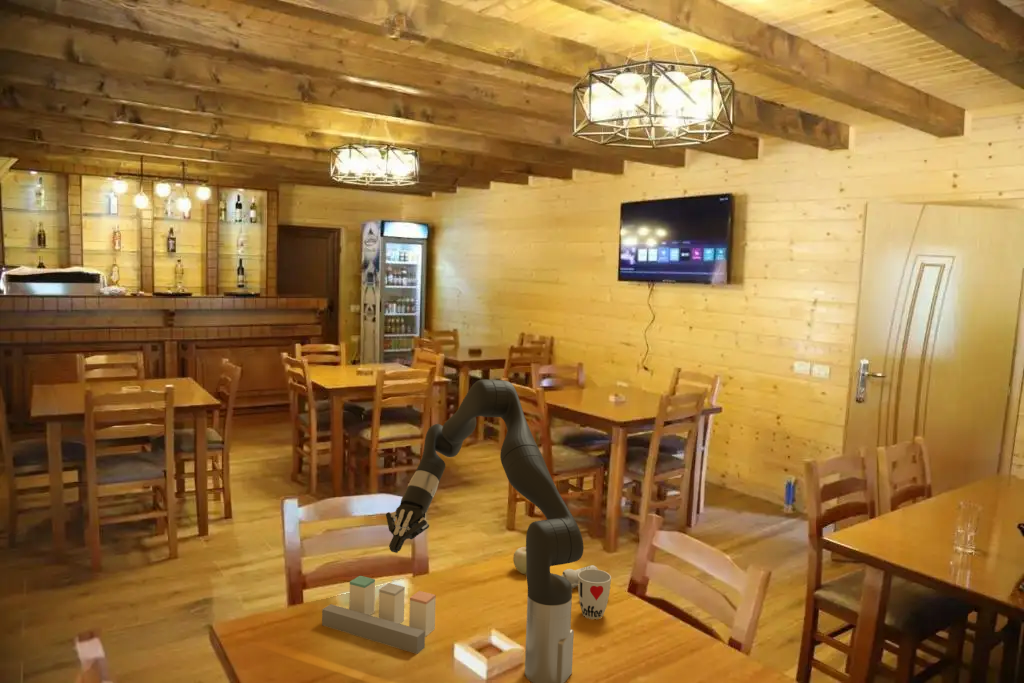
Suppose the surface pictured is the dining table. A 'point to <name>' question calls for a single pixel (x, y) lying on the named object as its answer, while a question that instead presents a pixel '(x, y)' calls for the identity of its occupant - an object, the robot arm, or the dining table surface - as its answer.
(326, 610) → the grey base
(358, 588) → the beige and green block
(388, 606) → the beige tall block
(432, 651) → the dining table surface
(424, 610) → the beige and orange block
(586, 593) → the cup
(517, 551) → the fruit
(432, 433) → the robot arm
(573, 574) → the clip-on lamp
